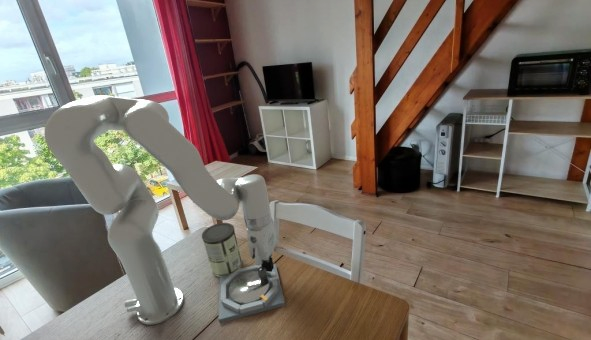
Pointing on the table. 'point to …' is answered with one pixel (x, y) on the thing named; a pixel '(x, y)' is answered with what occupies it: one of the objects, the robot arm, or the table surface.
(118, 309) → the table surface
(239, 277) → the dial
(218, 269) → the coffee can
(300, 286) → the table surface
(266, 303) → the panel
